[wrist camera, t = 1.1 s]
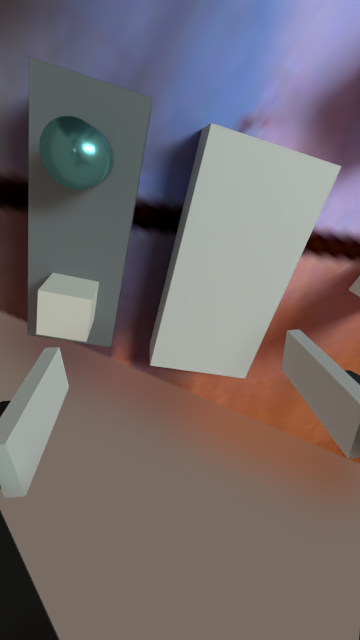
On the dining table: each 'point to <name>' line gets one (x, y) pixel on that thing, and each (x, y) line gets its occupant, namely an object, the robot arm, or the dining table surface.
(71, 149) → the teal jar
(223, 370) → the dock
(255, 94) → the dining table surface
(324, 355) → the robot arm
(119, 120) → the grey slotted block
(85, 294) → the white cube
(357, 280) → the milk
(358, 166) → the dining table surface
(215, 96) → the dining table surface
